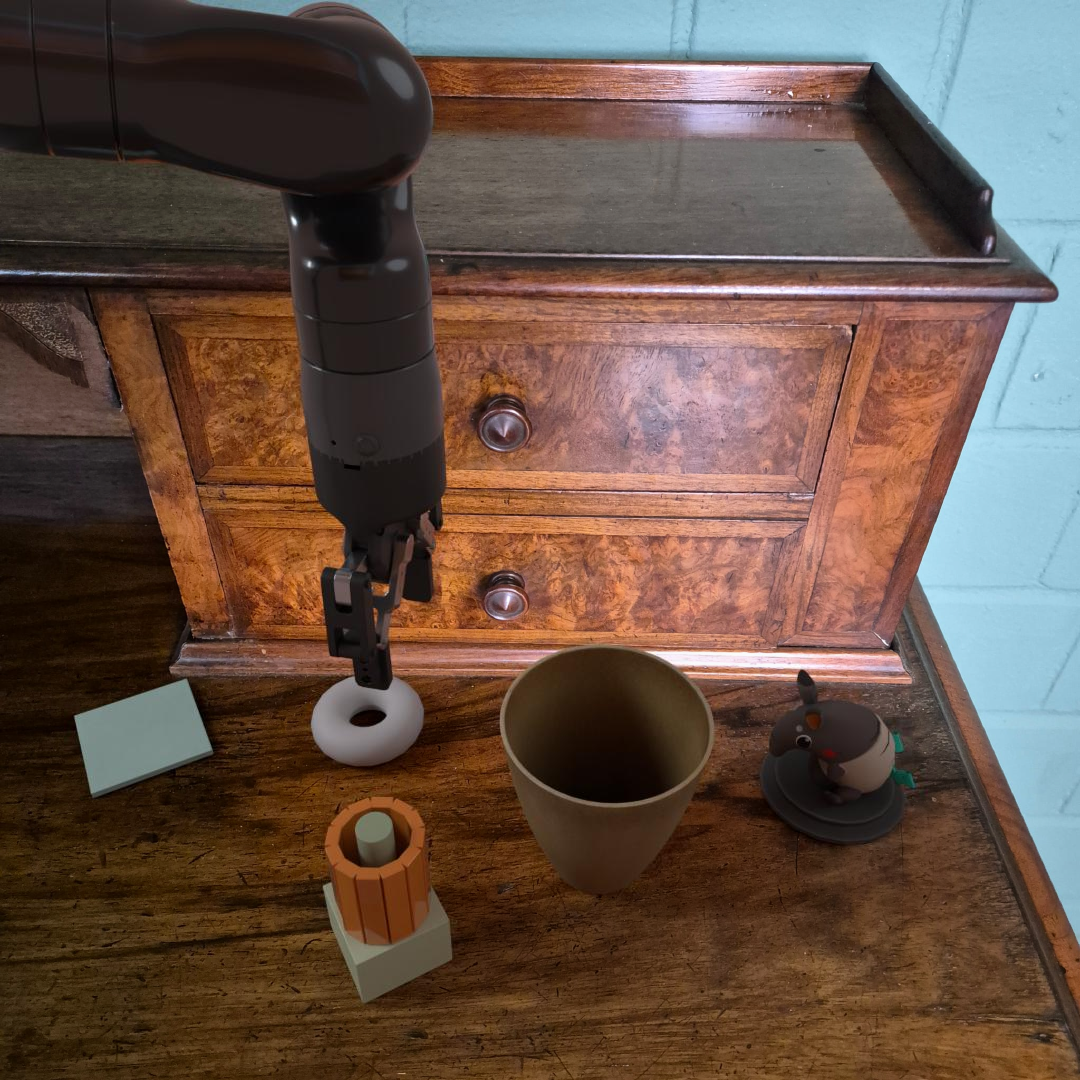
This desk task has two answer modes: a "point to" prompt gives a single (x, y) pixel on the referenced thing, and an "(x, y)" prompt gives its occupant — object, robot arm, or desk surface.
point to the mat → (141, 737)
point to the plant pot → (604, 758)
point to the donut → (367, 741)
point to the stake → (394, 962)
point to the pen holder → (380, 875)
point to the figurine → (834, 770)
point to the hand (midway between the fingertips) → (397, 639)
